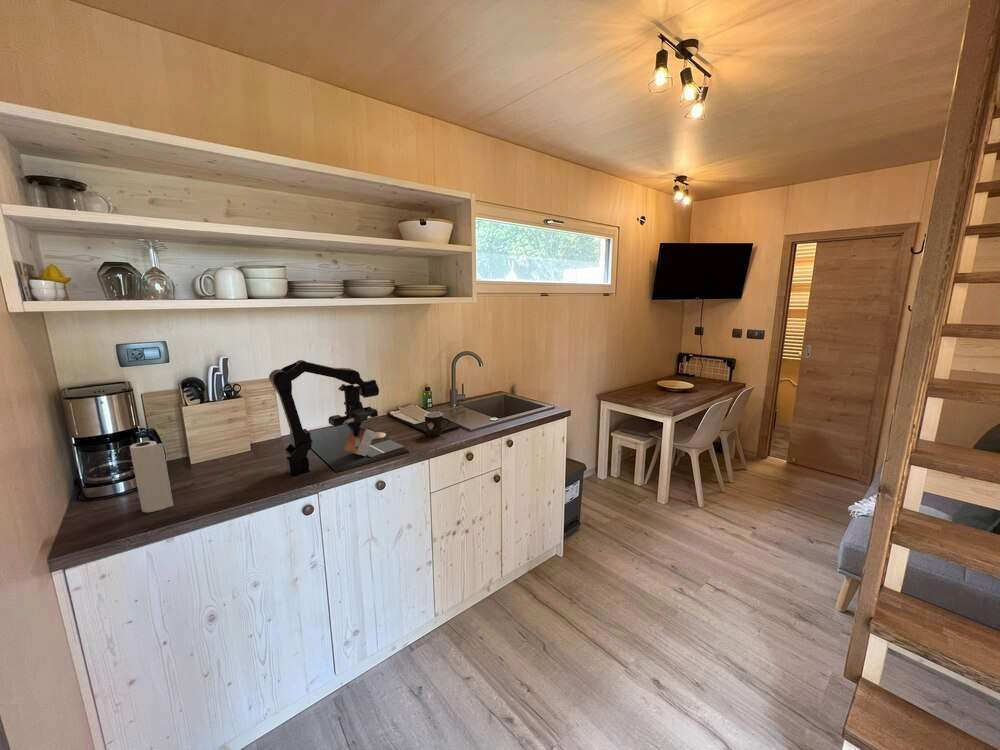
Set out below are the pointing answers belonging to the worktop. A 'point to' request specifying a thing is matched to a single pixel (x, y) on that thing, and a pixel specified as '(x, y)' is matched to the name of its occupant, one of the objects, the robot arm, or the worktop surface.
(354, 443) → the small box
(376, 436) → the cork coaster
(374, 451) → the mat
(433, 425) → the coffee mug
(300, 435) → the robot arm
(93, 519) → the worktop surface
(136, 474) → the paper towel roll
